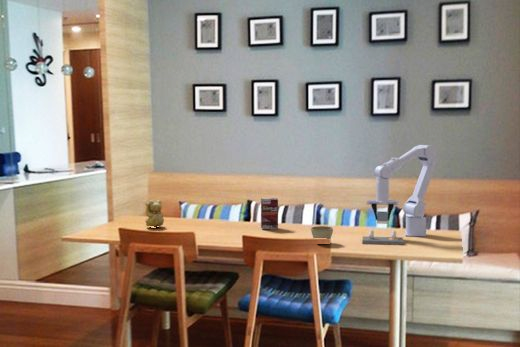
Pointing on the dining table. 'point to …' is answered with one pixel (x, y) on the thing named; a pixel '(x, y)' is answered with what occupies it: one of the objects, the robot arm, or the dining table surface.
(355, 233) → the dining table surface
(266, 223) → the supplement box
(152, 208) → the decorative figurine
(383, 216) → the sleeve
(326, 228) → the flower pot
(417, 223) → the robot arm
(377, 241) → the pin board
